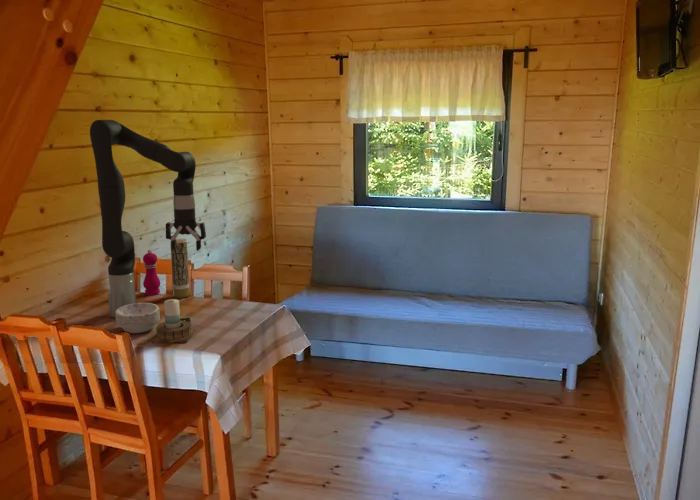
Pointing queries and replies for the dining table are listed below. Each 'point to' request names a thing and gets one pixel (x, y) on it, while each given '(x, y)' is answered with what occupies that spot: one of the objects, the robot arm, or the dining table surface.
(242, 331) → the dining table surface
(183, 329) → the holder
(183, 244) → the bark covered cylinder
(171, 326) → the roll
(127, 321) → the paper bowls
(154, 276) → the pepper mill
